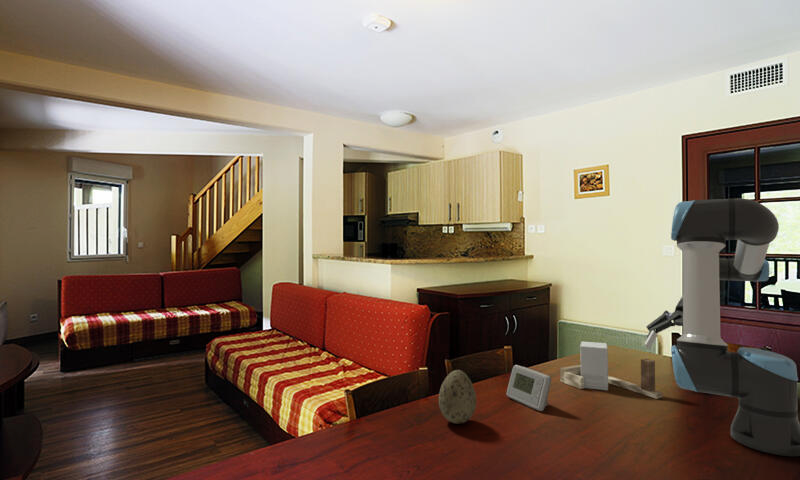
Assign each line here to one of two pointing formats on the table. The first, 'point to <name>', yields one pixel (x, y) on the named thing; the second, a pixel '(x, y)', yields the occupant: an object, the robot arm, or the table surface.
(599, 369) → the supplement box
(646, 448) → the table surface
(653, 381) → the hooked slat
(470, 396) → the decorative egg
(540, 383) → the digital clock
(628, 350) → the table surface
